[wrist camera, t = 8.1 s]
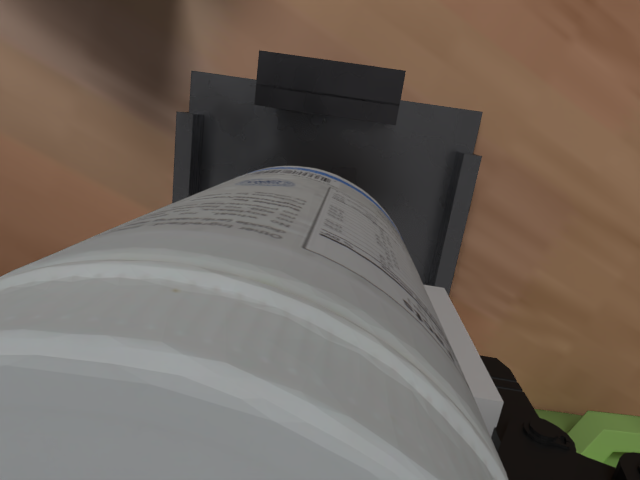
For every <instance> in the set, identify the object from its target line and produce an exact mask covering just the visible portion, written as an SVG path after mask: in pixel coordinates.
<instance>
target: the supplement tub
mask: <svg viewBox="0 0 640 480" xmlns="http://www.w3.org/2000/svg"><path fill="white" fill-rule="evenodd" d="M0 480H508V477H507V474H506V471H505V469H504V467H503V464H502V462H501V460H500V457H499V455H498V453H497V451H496V448H495V446H494V444H493V441H492V439H491V437H490V434H489V432H488V430H487V427H486V425H485V423H484V420H483V418H482V416H481V413H480V411H479V408H478V406H477V404H476V401H475V399H474V397H473V394H472V392H471V390H470V388H469V385H468V383H467V381H466V379H465V376H464V374H463V372H462V370H461V367H460V365H459V363H458V360H457V358H456V356H455V354H454V352H453V349H452V347H451V345H450V343H449V340H448V338H447V336H446V334H445V332H444V329H443V327H442V325H441V323H440V321H439V318H438V316H437V314H436V312H435V310H434V307H433V305H432V303H431V301H430V299H429V296H428V294H427V292H426V290H425V288H424V285H423V283H422V281H421V278H420V276H419V274H418V272H417V269H416V267H415V265H414V263H413V261H412V259H411V257H410V255H409V252H408V250H407V248H406V246H405V244H404V242H403V239H402V237H401V235H400V233H399V231H398V229H397V227H396V225H395V224H394V223H393V221H392V220H391V218H390V217H389V215H388V214H387V213H386V212H385V210H384V209H383V208H382V207H381V206H380V205H379V204H378V202H377V201H376V200H374V199H373V198H372V197H371V196H370V195H369V194H368V193H366V192H365V191H364V190H362V189H361V188H359V187H358V186H356V185H354V184H353V183H351V182H350V181H348V180H346V179H344V178H342V177H340V176H338V175H335V174H333V173H330V172H327V171H324V170H320V169H316V168H310V167H301V166H276V167H269V168H264V169H260V170H256V171H253V172H250V173H247V174H245V175H242V176H239V177H236V178H234V179H231V180H229V181H226V182H224V183H221V184H219V185H216V186H214V187H212V188H209V189H207V190H204V191H202V192H199V193H197V194H194V195H192V196H190V197H187V198H185V199H182V200H180V201H177V202H175V203H172V204H170V205H168V206H165V207H163V208H160V209H158V210H155V211H153V212H151V213H148V214H146V215H143V216H141V217H139V218H136V219H134V220H131V221H129V222H127V223H124V224H122V225H119V226H117V227H115V228H112V229H110V230H107V231H105V232H103V233H101V234H98V235H96V236H94V237H91V238H89V239H87V240H84V241H82V242H80V243H77V244H75V245H73V246H71V247H68V248H66V249H64V250H61V251H59V252H57V253H54V254H52V255H49V256H47V257H45V258H42V259H40V260H37V261H35V262H33V263H30V264H28V265H25V266H23V267H21V268H18V269H16V270H13V271H11V272H9V273H7V274H5V275H3V276H1V277H0Z"/></svg>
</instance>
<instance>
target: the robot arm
mask: <svg viewBox="0 0 640 480" xmlns="http://www.w3.org/2000/svg"><path fill="white" fill-rule="evenodd" d="M424 288H425V290H426V292H427V294H428V296H429V299H430V301H431V303H432V305H433V307H434V310H435V312H436V314H437V316H438V318H439V321H440V323H441V325H442V327H443V329H444V332H445V334H446V336H447V338H448V340H449V343H450V345H451V347H452V349H453V352H454V354H455V356H456V358H457V360H458V363H459V365H460V367H461V370H462V372H463V374H464V376H465V379H466V381H467V383H468V385H469V388H470V390H471V392H472V394H473V397H474V399H475V401H476V404H477V406H478V408H479V411H480V413H481V416H482V418H483V420H484V423H485V425H486V427H487V430H488V432H489V434H490V437H491V439H492V441H493V444H494V446H495V448H496V451H497V453H498V455H499V457H500V460H501V462H502V464H503V467H504V469H505V471H506V474H507V477H508V480H640V453H635V452H631V453H624V454H623V455H622V456H621V457H620V458H619V461H618V464H617V466H616V468H615V467H612V466H610V465H607V464H604V463H602V462H599V461H596V460H594V459H591V458H588V457H586V456H584V455H581V454H579V453H577V452H576V447H575V443H574V441H573V440H572V439H571V438H570V436H569V435H568V434H567V433H566V432H564V431H563V430H562V429H561V428H559V427H558V426H556V425H554V424H553V423H551V422H549V421H547V420H545V419H542V418H539V416H538V414H537V413H536V411H535V410H534V408H533V406H532V405H531V403H530V401H529V400H528V398H527V397H526V395H525V393H524V392H522V388H521V387H520V385H519V383H517V380H516V379H515V377H514V375H513V374H512V372H511V370H510V369H509V368H508V367H506V366H505V365H504V364H503V363H502V362H500V361H499V360H498V359H497V358H492V357H486V356H480V355H479V354H478V352H477V350H476V348H475V346H474V344H473V342H472V340H471V338H470V336H469V334H468V333H467V331H466V329H465V327H464V325H463V323H462V321H461V319H460V317H459V315H458V313H457V311H456V309H455V308H454V306H453V304H452V302H451V300H450V298H449V296H448V294H447V292H446V290H445V288H441V287H435V286H429V285H424Z"/></svg>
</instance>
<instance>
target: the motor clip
mask: <svg viewBox="0 0 640 480" xmlns="http://www.w3.org/2000/svg"><path fill="white" fill-rule="evenodd" d="M405 72H406V71H403V70H396V69H388V68H381V67H374V66H367V65H360V64H353V63H345V62H338V61H331V60H324V59H317V58H310V57H302V56H295V55H288V54H281V53H274V52H266V51H259V59H258V70H257V80H254V79H247V78H240V77H233V76H226V75H219V74H212V73H205V72H198V71H191V88H190V106H189V112H177V115H176V137H175V158H174V179H173V200H172V203H175V202H177V201H180V200H182V199H185V198H187V197H190V196H192V195H194V194H197V193H199V192H202V191H204V190H207V189H209V188H212V187H214V186H216V185H219V184H221V183H224V182H226V181H229V180H231V179H234V178H236V177H239V176H242V175H245V174H247V173H250V172H253V171H256V170H260V169H264V168H269V167H276V166H301V167H310V168H316V169H320V170H324V171H327V172H330V173H333V174H335V175H338V176H340V177H342V178H344V179H346V180H348V181H350V182H351V183H353V184H354V185H356V186H358V187H359V188H361V189H362V190H364V191H365V192H366V193H368V194H369V195H370V196H371V197H372V198H373V199H374V200H376V201H377V202H378V204H379V205H380V206H381V207H382V208H383V209H384V210H385V212H386V213H387V214H388V215H389V217H390V218H391V220H392V221H393V223H394V224H395V225H396V227H397V229H398V231H399V233H400V235H401V237H402V239H403V242H404V244H405V246H406V248H407V250H408V252H409V255H410V257H411V259H412V261H413V263H414V265H415V267H416V269H417V272H418V274H419V276H420V278H421V281H422V283H423V285H429V286H435V287H441V288H445V290H446V292H447V294H448V296H449V292H450V288H451V284H452V280H453V276H454V271H455V267H456V263H457V259H458V255H459V250H460V246H461V242H462V238H463V233H464V229H465V225H466V221H467V217H468V212H469V208H470V204H471V200H472V196H473V191H474V187H475V183H476V179H477V175H478V170H479V166H480V162H481V158H482V156H479V155H476V154H473V151H474V147H475V143H476V138H477V134H478V130H479V125H480V121H481V117H482V112H479V111H472V110H465V109H458V108H451V107H444V106H437V105H430V104H423V103H416V102H409V101H402V100H400V99H401V94H402V88H403V83H404V77H405Z"/></svg>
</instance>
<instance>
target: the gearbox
mask: <svg viewBox="0 0 640 480" xmlns="http://www.w3.org/2000/svg"><path fill="white" fill-rule="evenodd" d="M534 410H535V411H536V413H537V414H538V416H539V418H542V419H545V420H547V421H549V422H551V423H553V424H554V425H556V426H558V427H559V428H561V429H562V430H563V431H564V432H566V433H567V434H568V435H569V436H570V438H571V439H572V440H573V441H574V443H575V447H576V452H577V453H579V454H581V455H584V456H586V457H588V458H591V459H594V460H596V461H599V462H602V463H604V464H607V465H610V466H612V467H615V468H616V466H617V464H618V461H619V458H620V457H621V456H622V455H623V454H624V453H631V452H635V453H640V416H632V415H623V414H614V413H605V412H596V411H587V412H586V413H585V414H584V415H583V416H581V415H575V414H568V413H561V412H554V411H546V410H538V409H534Z"/></svg>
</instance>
